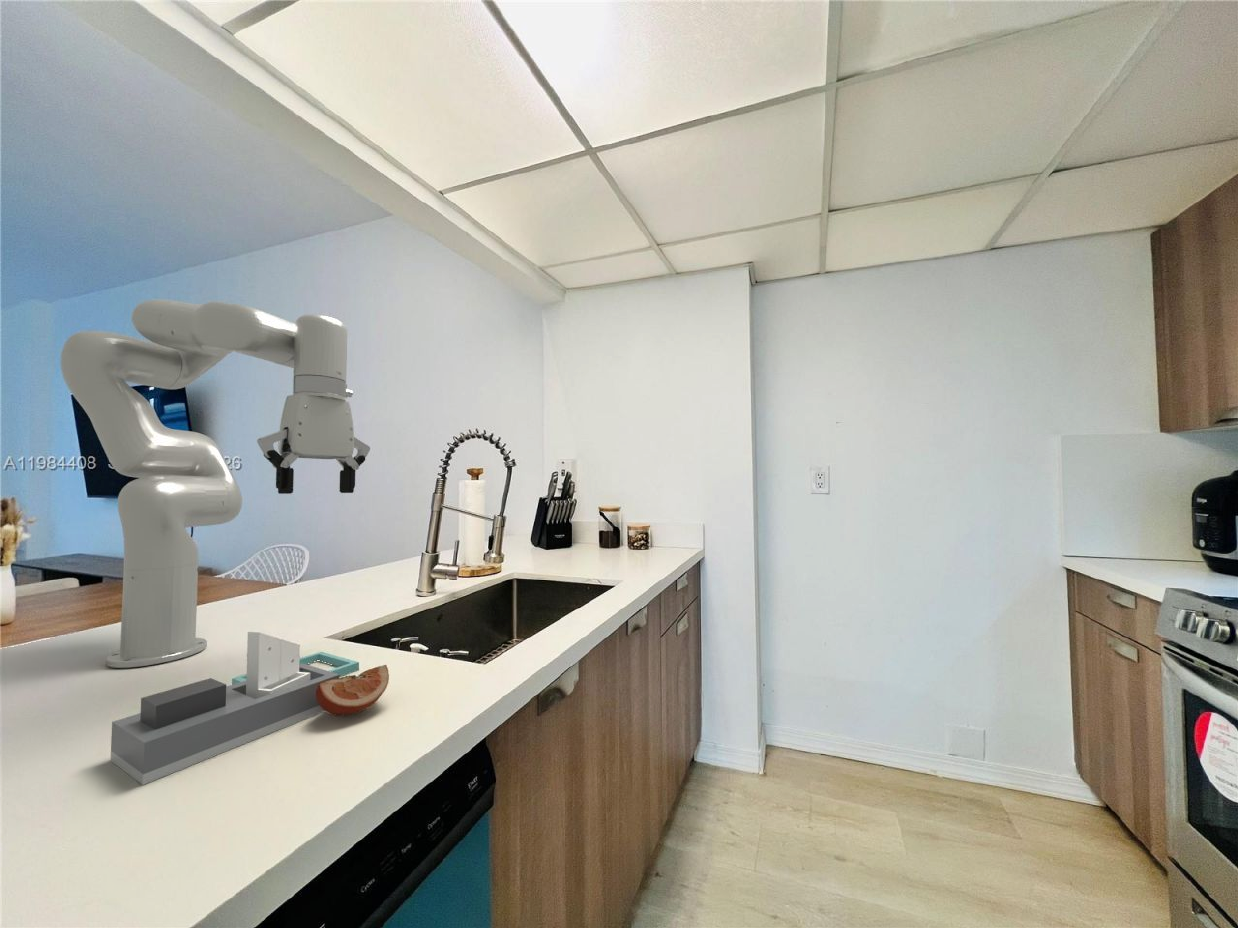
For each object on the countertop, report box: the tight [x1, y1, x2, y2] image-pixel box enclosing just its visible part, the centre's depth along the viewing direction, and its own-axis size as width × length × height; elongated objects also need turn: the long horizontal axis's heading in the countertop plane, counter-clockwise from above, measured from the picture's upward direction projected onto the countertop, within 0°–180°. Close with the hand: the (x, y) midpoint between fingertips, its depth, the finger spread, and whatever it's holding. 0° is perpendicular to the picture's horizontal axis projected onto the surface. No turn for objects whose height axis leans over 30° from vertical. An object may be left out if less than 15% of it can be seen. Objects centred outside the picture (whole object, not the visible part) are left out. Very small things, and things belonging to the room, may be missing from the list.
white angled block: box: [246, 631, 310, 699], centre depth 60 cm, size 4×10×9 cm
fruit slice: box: [316, 664, 390, 717], centre depth 60 cm, size 8×7×5 cm
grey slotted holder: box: [110, 663, 341, 786], centre depth 56 cm, size 9×19×6 cm, turn 151°
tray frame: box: [231, 651, 360, 685], centre depth 72 cm, size 11×13×1 cm
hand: (317, 493), depth 78 cm, fingers open, 9 cm apart
